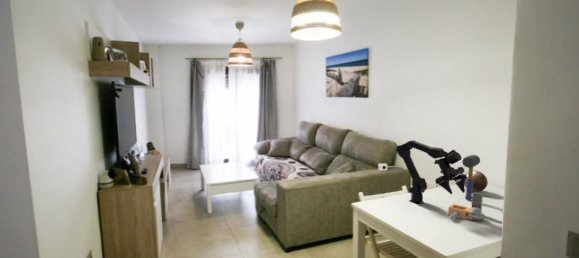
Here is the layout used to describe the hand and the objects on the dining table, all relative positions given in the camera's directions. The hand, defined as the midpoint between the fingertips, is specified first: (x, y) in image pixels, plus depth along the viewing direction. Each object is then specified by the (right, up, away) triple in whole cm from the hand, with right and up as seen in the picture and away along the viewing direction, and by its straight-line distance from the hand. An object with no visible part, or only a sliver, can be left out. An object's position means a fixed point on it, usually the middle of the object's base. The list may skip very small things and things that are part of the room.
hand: (457, 193), depth 172 cm
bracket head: (+4, -14, 0) cm, 15 cm away
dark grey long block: (+14, -14, +7) cm, 21 cm away
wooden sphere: (+38, -9, +48) cm, 62 cm away
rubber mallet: (+24, -11, +30) cm, 40 cm away
